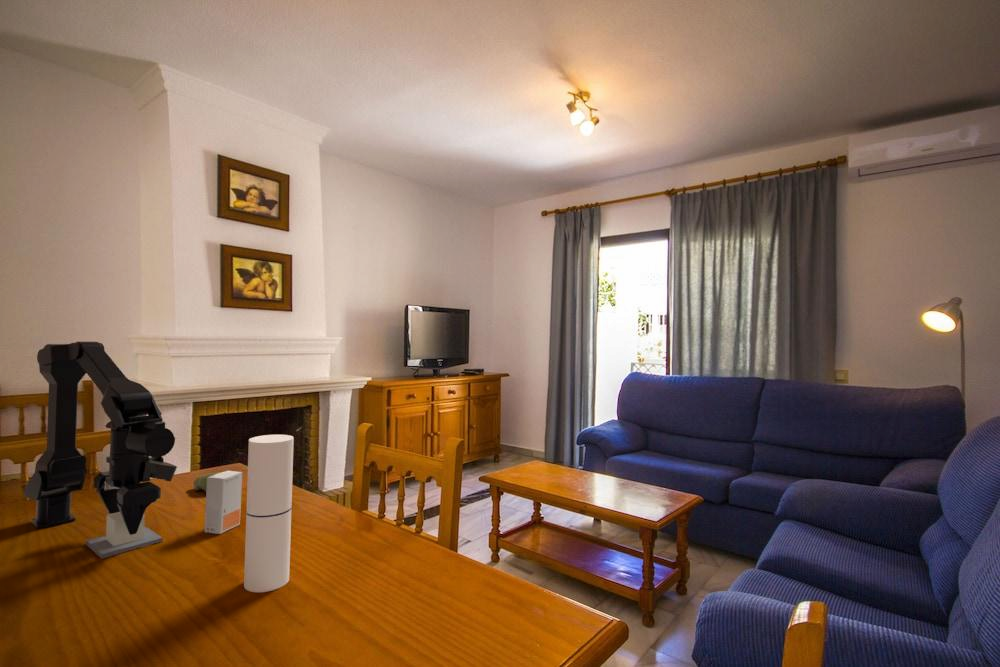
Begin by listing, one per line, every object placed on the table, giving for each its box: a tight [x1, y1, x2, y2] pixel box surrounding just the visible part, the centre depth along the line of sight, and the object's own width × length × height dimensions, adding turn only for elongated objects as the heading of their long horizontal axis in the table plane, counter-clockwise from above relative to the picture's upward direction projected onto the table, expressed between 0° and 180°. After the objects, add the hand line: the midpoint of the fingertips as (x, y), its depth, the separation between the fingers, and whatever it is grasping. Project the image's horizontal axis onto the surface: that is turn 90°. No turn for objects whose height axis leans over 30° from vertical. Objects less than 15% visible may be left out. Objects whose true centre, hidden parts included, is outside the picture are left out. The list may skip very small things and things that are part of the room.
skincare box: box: [204, 470, 243, 535], centre depth 109 cm, size 6×4×12 cm
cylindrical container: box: [243, 434, 295, 593], centre depth 86 cm, size 7×7×25 cm
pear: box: [193, 472, 219, 492], centre depth 134 cm, size 6×5×10 cm
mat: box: [85, 525, 163, 559], centre depth 100 cm, size 10×10×1 cm
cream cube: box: [105, 512, 146, 546], centre depth 100 cm, size 5×5×5 cm
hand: (124, 528), depth 100 cm, fingers open, 9 cm apart
